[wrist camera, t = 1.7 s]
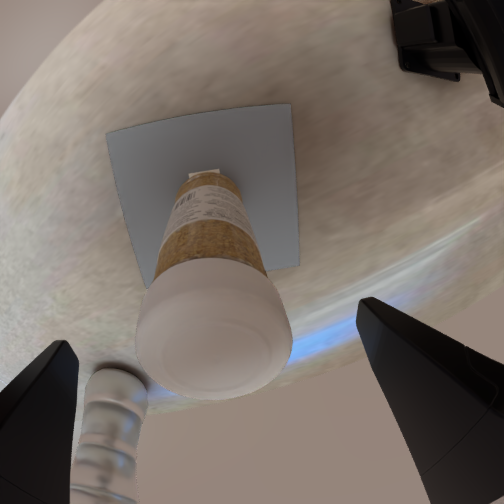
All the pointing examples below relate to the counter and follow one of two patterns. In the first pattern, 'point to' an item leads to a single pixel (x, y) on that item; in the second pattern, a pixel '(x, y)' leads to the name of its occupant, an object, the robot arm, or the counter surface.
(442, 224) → the counter surface
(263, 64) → the counter surface
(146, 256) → the mat
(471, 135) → the counter surface
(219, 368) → the sprinkles bottle
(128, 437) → the plastic bottle
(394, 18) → the robot arm
